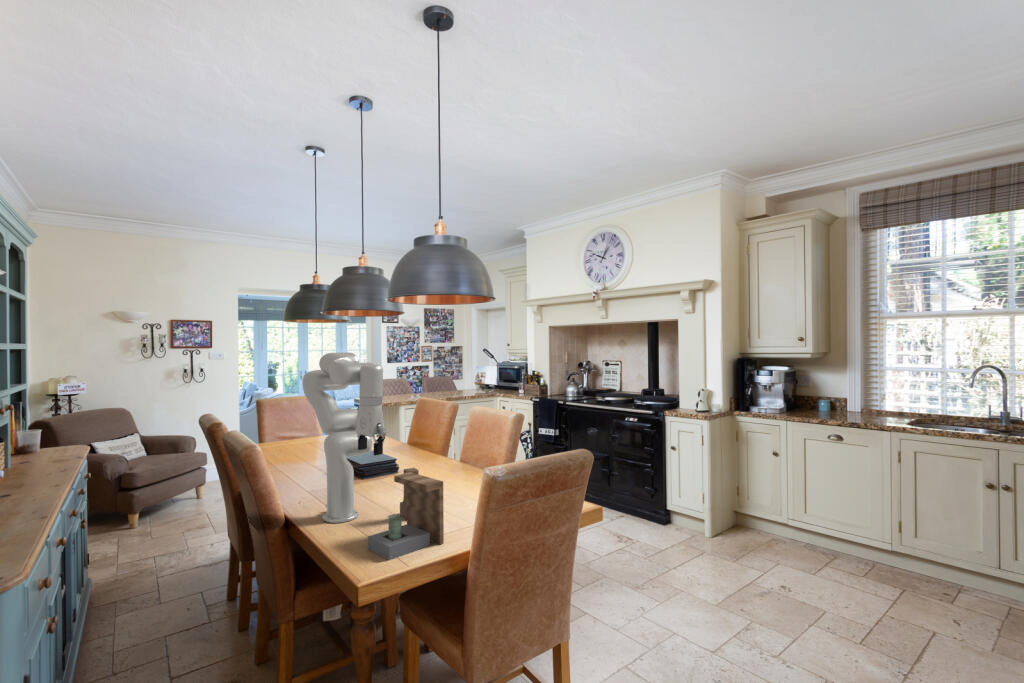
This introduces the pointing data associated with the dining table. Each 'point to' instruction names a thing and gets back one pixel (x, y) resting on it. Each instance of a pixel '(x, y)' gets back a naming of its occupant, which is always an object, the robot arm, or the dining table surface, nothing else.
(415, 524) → the brown notched wall
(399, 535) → the peg
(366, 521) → the dining table surface
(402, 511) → the wooden block
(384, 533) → the socket block
